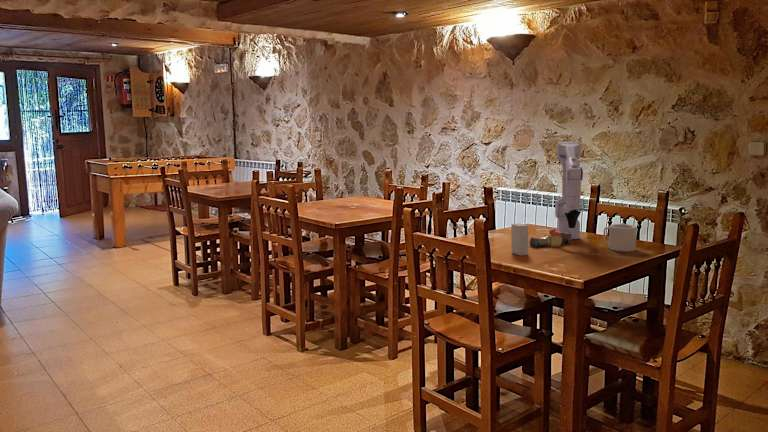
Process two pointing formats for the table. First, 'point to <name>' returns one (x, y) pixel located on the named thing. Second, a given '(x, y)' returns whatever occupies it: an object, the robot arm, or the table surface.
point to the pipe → (545, 241)
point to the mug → (621, 237)
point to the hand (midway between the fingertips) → (571, 227)
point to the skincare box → (519, 239)
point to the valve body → (553, 240)
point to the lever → (560, 233)
